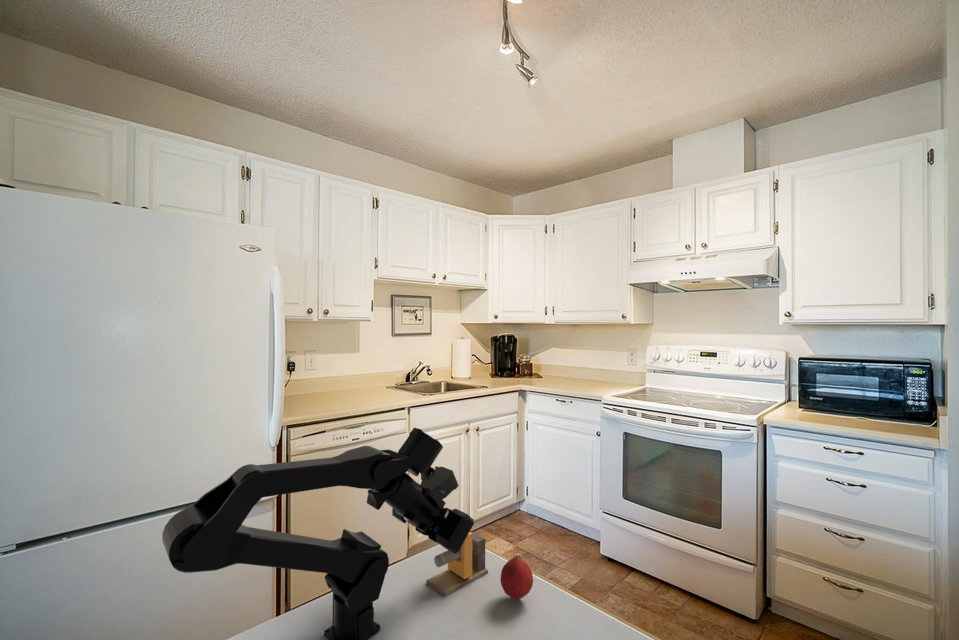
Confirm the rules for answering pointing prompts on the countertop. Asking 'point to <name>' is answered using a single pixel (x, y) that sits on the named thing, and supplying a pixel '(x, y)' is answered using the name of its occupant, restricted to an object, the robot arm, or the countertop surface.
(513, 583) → the onion
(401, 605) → the countertop surface
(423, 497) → the robot arm
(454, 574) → the pipe stand
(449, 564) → the collar
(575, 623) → the countertop surface
